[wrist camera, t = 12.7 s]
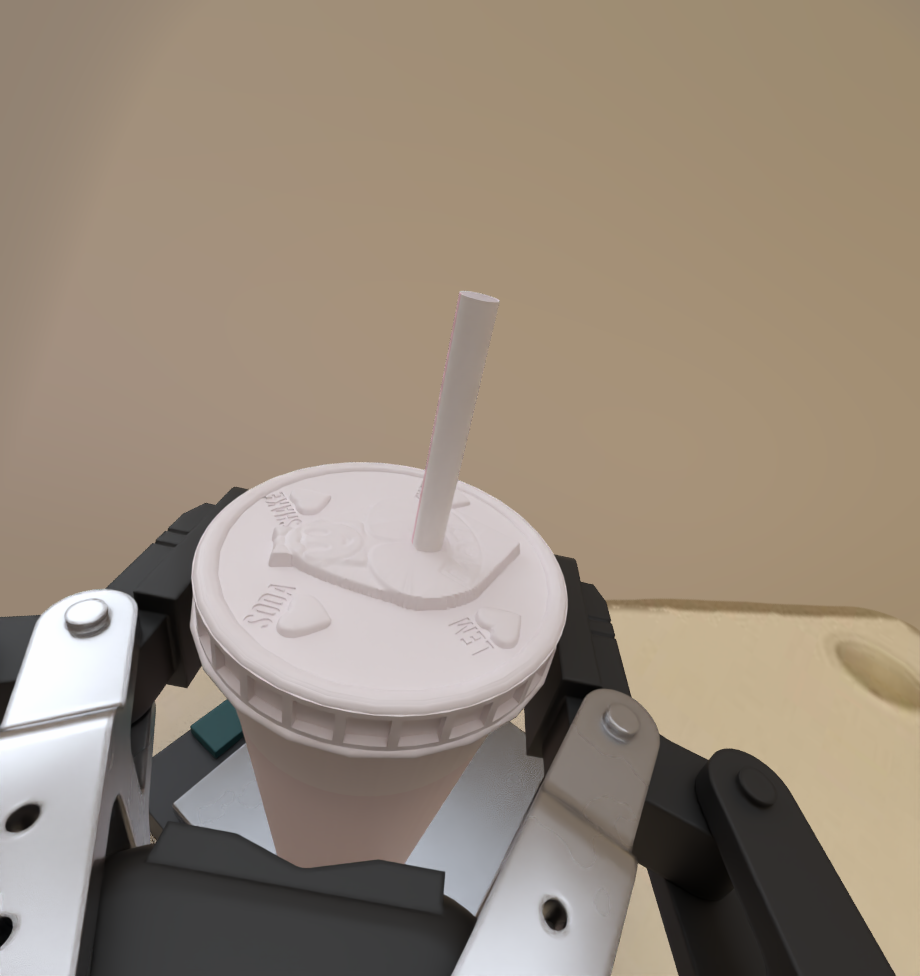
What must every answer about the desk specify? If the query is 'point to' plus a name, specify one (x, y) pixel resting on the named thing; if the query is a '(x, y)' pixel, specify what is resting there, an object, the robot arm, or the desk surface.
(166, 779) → the scale
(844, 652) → the desk surface
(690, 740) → the desk surface
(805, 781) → the desk surface
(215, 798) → the platform
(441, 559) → the smoothie
